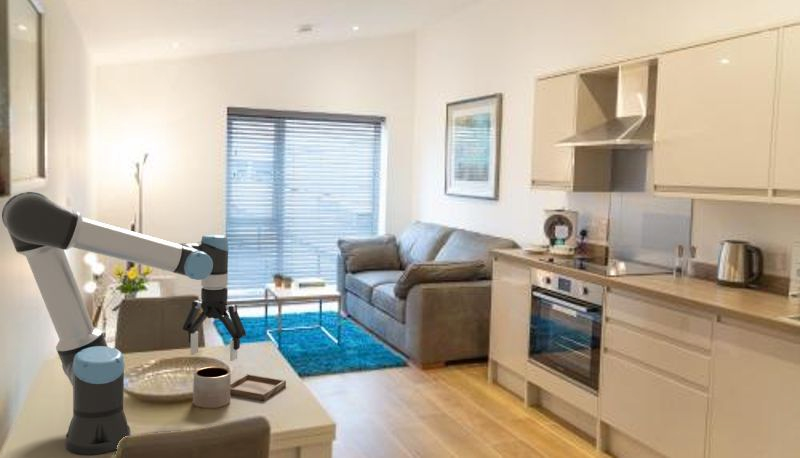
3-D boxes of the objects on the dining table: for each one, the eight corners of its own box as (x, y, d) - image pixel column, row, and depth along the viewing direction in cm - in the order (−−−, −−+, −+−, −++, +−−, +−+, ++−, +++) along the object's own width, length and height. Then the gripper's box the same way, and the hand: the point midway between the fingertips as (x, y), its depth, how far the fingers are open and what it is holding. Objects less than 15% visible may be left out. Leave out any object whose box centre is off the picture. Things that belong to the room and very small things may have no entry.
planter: (184, 404, 195) (185, 373, 194) (211, 393, 205) (211, 363, 204) (212, 412, 190) (212, 380, 189) (237, 401, 200) (238, 370, 199)
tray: (263, 401, 201) (263, 394, 201) (222, 393, 205) (222, 387, 205) (285, 386, 215) (285, 380, 214) (247, 379, 219) (247, 373, 219)
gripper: (258, 289, 194) (257, 358, 196) (186, 280, 201) (186, 348, 204) (244, 293, 187) (243, 366, 189) (170, 285, 194) (170, 354, 196)
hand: (213, 356), depth 196 cm, fingers open, 13 cm apart
